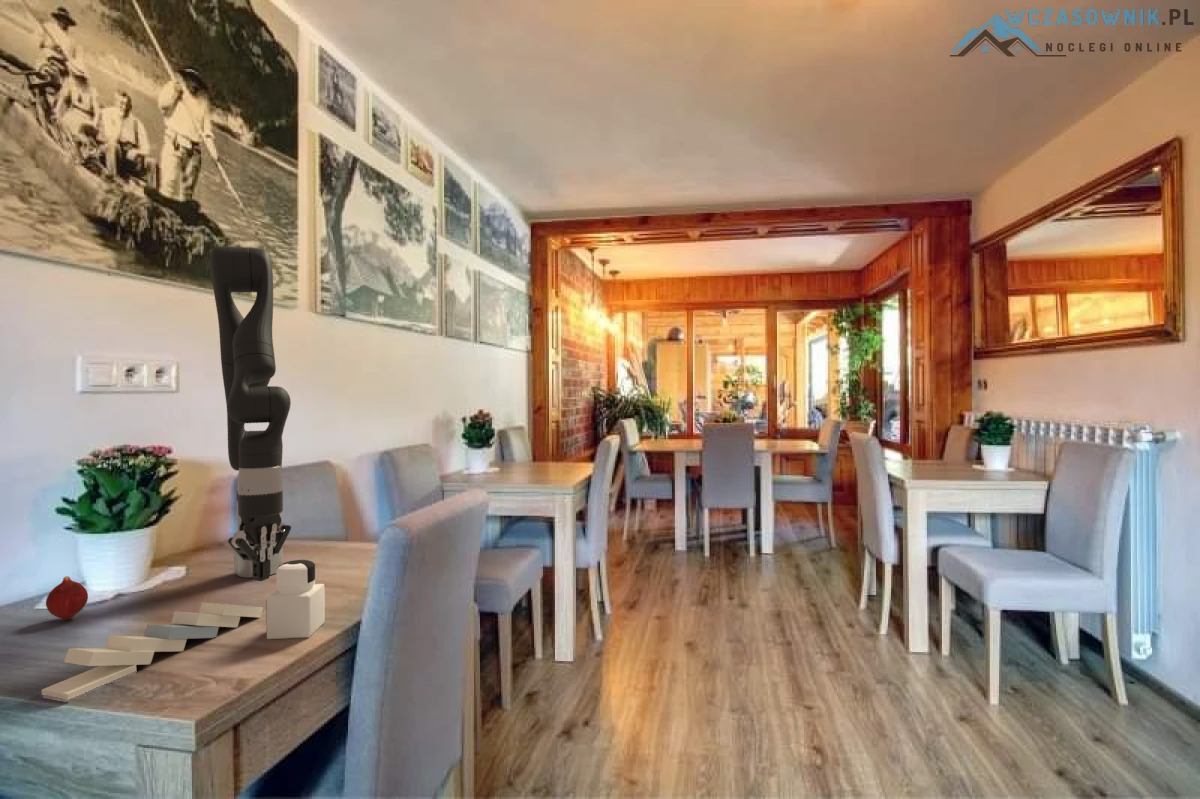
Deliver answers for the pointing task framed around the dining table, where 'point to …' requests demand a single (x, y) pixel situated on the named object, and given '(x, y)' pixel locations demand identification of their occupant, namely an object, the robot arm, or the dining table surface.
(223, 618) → the domino
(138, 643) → the domino
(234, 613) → the domino
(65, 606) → the onion
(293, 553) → the dining table surface
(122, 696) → the dining table surface
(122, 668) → the domino
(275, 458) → the robot arm
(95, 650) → the domino
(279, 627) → the medicine bottle
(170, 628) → the domino
